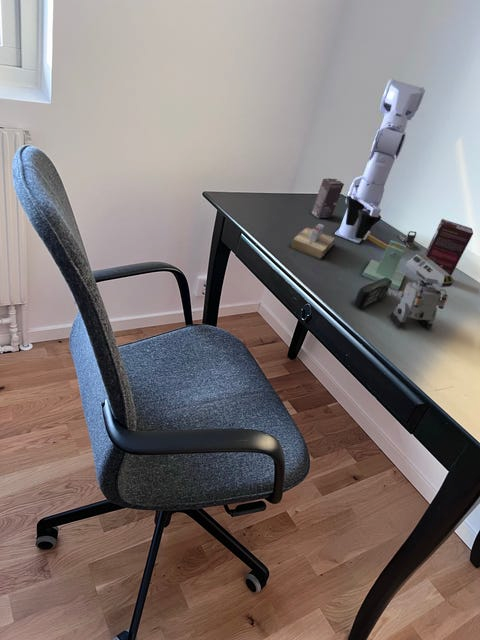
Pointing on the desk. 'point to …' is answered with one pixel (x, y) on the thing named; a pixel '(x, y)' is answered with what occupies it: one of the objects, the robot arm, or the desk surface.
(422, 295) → the figurine
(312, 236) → the grey rectangular block
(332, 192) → the box
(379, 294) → the dark grey piece
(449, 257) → the supplement box
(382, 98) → the robot arm
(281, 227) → the desk surface
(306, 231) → the panel
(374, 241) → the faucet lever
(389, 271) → the green lever mechanism
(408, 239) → the strap clip
